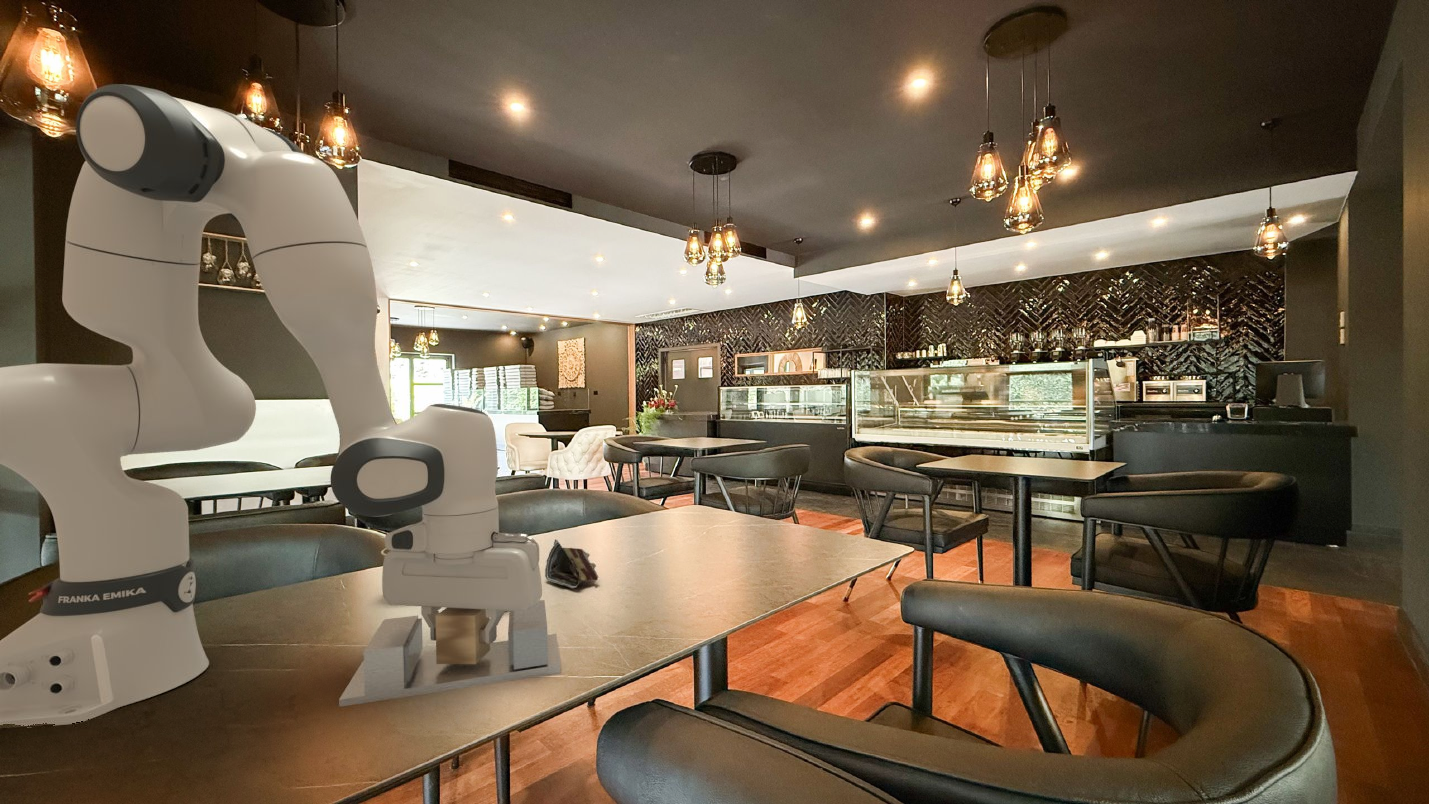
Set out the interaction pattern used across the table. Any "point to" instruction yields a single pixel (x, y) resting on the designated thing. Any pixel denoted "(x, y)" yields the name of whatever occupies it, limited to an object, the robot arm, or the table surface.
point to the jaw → (528, 637)
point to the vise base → (429, 666)
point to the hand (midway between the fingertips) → (463, 640)
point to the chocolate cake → (569, 566)
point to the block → (460, 636)
